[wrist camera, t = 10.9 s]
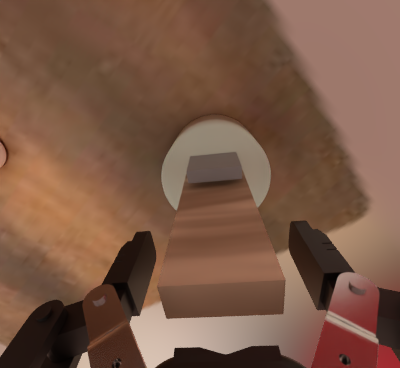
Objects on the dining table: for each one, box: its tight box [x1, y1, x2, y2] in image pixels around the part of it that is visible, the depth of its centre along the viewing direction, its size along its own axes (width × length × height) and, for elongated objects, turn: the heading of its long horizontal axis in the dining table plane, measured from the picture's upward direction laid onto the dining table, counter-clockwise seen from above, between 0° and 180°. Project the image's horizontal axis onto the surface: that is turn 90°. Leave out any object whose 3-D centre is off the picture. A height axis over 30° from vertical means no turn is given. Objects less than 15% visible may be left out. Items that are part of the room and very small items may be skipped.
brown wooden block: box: [157, 170, 285, 319], centre depth 14 cm, size 2×5×12 cm, turn 97°
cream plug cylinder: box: [161, 114, 271, 211], centre depth 21 cm, size 10×10×10 cm
